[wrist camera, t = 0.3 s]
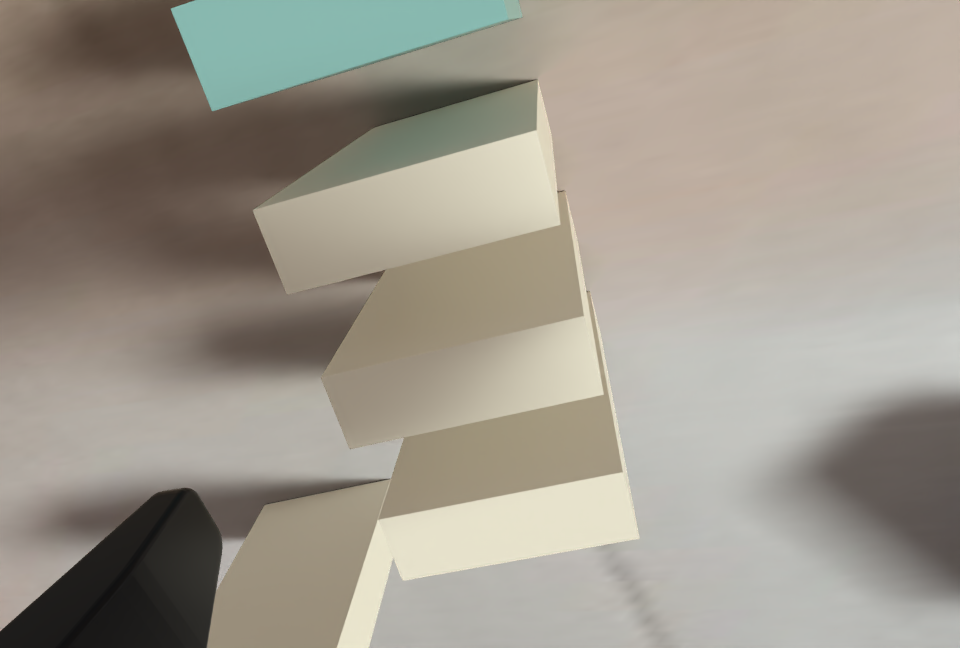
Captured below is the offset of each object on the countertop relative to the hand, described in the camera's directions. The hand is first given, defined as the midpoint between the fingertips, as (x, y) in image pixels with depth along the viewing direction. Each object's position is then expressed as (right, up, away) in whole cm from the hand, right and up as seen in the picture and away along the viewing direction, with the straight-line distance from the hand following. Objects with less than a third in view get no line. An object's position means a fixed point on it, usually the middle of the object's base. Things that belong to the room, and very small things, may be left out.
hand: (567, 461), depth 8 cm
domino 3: (-1, +4, +14) cm, 15 cm away
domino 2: (-2, +7, +13) cm, 15 cm away
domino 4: (0, +1, +16) cm, 16 cm away
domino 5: (-6, -5, +19) cm, 21 cm away
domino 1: (-2, +10, +12) cm, 16 cm away
